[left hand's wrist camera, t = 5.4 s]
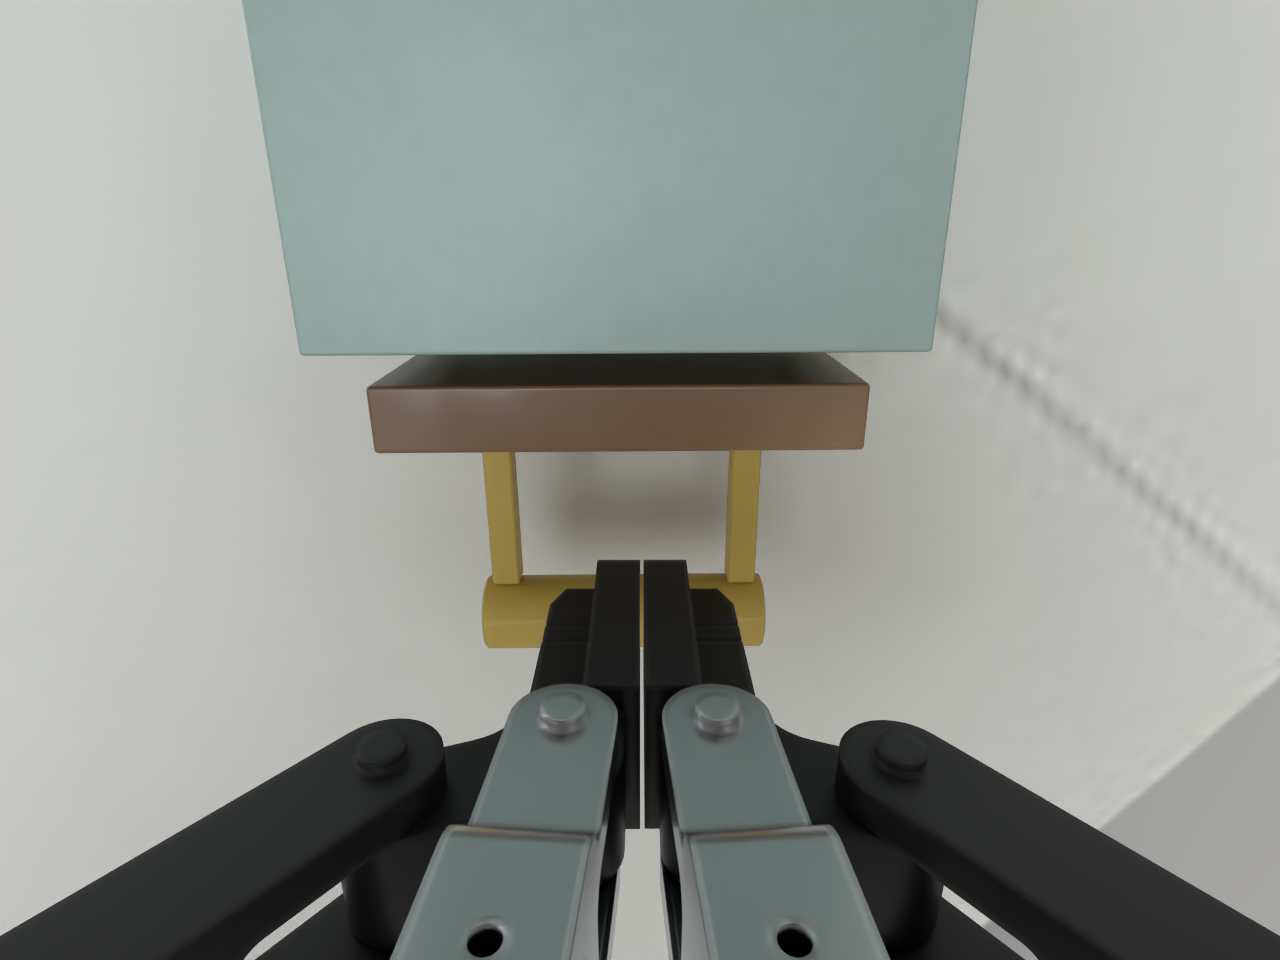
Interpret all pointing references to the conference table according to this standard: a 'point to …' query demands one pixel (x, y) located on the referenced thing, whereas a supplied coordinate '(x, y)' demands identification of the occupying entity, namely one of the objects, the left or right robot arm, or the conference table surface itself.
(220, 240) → the conference table surface
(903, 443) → the conference table surface
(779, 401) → the drawer
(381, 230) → the cabinet
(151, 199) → the conference table surface
